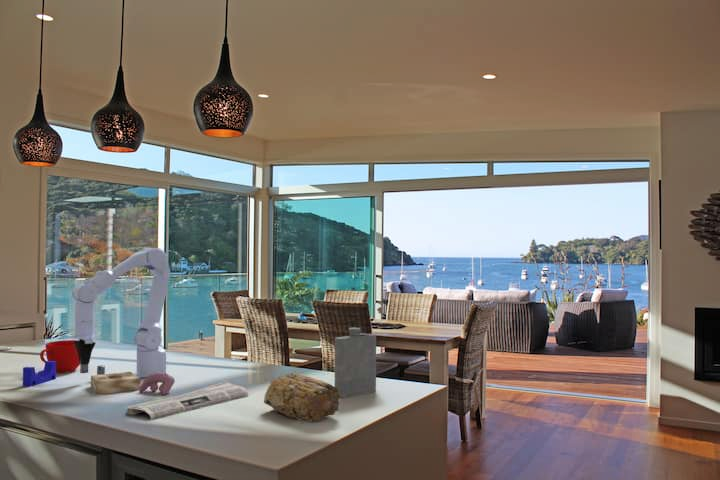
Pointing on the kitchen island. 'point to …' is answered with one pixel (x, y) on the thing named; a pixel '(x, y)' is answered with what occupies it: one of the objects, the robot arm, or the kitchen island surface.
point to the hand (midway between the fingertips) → (84, 363)
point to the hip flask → (355, 363)
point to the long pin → (83, 368)
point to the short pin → (100, 370)
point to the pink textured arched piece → (157, 378)
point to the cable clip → (39, 374)
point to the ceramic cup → (62, 355)
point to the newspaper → (190, 400)
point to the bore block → (115, 382)
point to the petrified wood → (302, 397)
